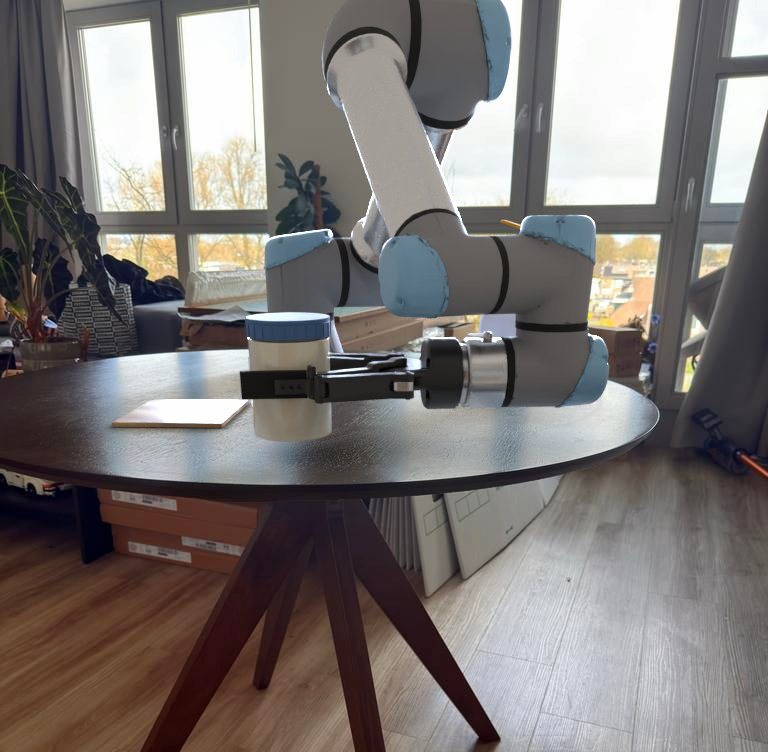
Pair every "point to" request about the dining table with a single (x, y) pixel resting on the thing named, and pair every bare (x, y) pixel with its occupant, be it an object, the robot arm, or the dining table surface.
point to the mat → (182, 413)
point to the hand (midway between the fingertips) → (245, 376)
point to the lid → (287, 326)
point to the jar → (290, 415)
